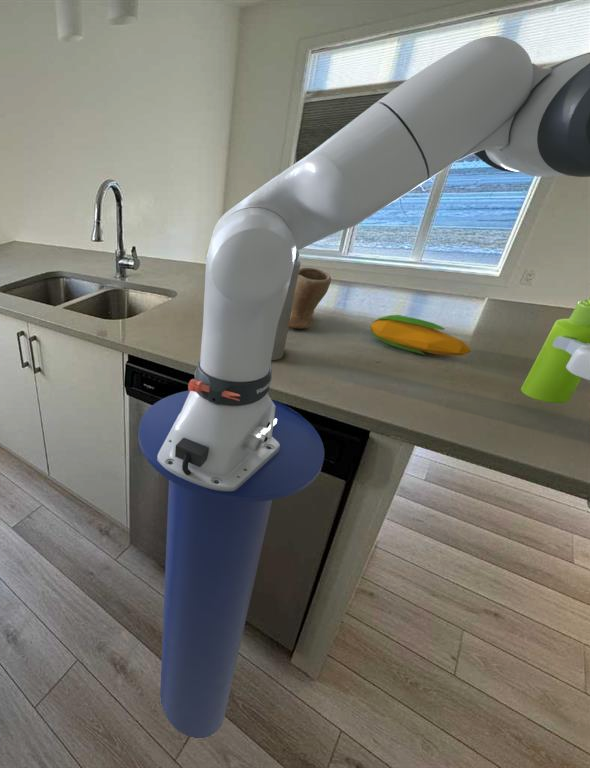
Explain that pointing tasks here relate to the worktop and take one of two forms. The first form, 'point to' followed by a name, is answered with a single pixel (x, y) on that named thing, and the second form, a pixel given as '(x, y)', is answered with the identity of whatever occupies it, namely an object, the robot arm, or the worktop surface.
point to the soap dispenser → (558, 359)
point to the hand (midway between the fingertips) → (572, 336)
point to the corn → (417, 336)
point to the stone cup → (308, 296)
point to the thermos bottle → (286, 314)
